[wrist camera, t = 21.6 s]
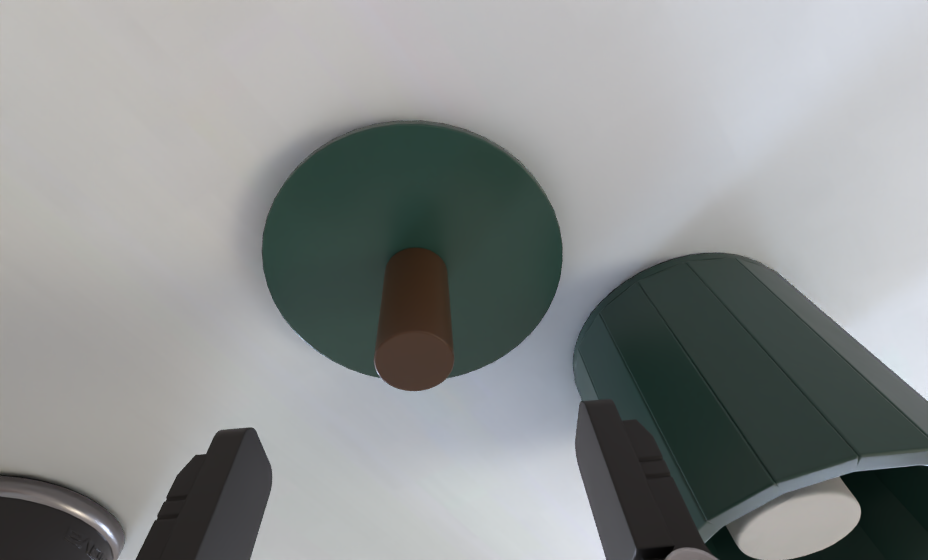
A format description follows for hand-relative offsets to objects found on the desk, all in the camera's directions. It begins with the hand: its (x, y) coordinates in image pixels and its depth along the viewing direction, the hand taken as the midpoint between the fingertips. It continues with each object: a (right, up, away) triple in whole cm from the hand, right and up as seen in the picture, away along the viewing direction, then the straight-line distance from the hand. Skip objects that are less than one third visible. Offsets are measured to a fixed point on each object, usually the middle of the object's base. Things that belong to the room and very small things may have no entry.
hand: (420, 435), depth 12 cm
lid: (-1, +4, +7) cm, 8 cm away
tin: (+11, +1, +11) cm, 16 cm away
